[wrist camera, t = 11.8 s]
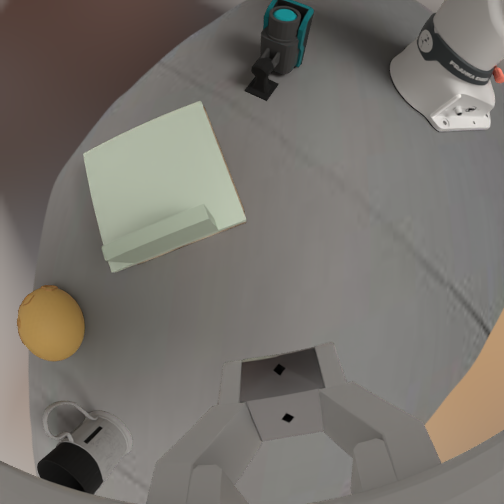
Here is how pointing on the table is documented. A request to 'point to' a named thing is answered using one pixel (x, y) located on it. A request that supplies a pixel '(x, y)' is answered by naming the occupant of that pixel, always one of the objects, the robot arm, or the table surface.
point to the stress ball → (50, 323)
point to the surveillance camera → (280, 43)
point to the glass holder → (85, 451)
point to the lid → (160, 187)
